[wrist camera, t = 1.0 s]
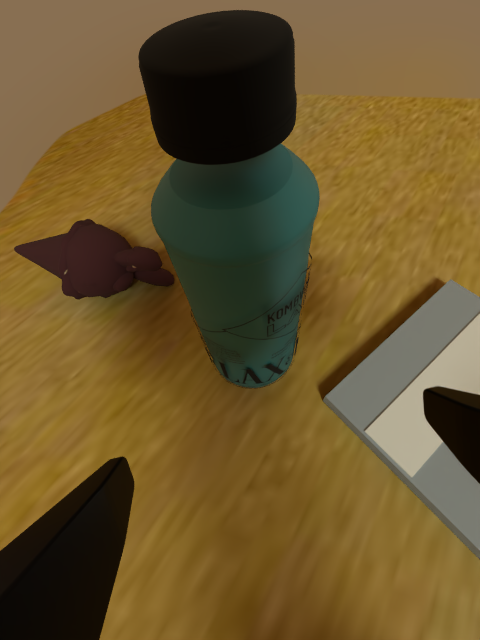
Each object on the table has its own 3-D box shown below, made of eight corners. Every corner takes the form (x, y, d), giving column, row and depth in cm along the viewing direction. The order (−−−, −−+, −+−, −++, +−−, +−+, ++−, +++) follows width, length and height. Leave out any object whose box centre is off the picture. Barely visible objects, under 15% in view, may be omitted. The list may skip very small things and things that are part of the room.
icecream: (-37, 269, 23) (142, 299, 22) (-1, 190, 25) (167, 213, 24) (29, 297, 30) (169, 322, 29) (53, 233, 32) (187, 253, 30)
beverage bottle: (202, 380, 24) (8, 86, 6) (233, 312, 26) (160, -18, 9) (280, 410, 22) (307, 117, 5) (305, 334, 25) (380, -22, 7)
